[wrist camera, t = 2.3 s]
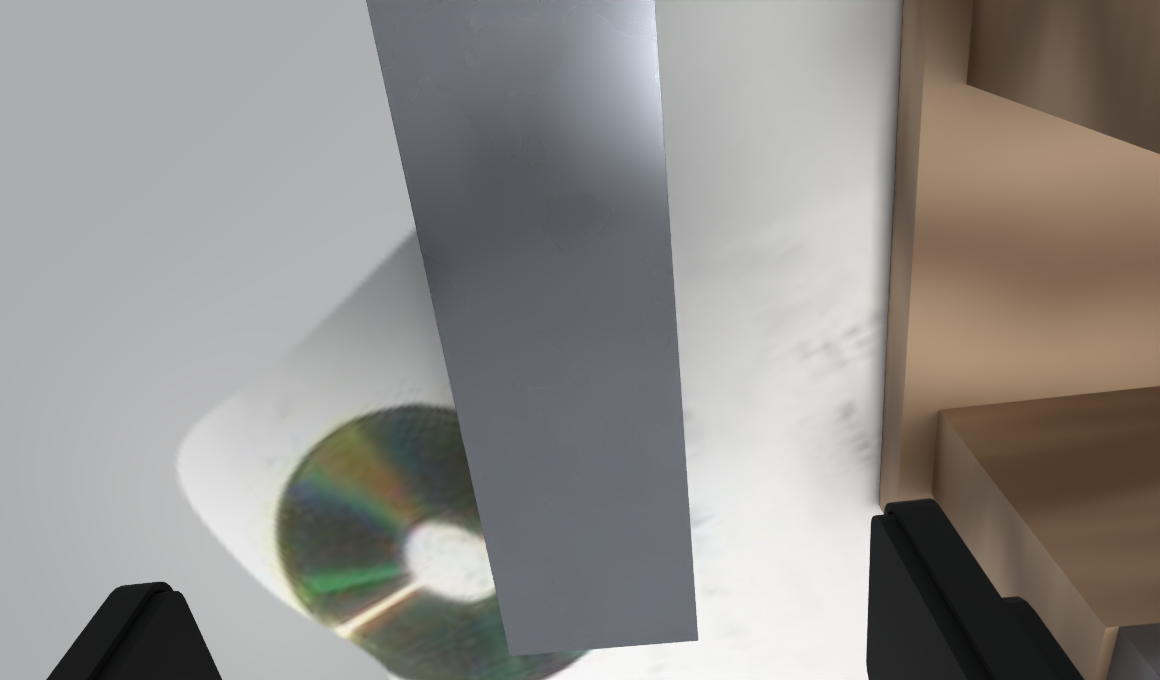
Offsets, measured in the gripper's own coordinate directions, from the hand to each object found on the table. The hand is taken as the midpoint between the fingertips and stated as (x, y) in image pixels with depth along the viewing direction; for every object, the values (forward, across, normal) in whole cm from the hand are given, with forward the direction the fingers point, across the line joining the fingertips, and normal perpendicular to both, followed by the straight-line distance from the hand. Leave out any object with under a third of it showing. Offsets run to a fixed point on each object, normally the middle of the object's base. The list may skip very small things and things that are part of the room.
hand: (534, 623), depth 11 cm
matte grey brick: (+13, 0, -1) cm, 13 cm away
